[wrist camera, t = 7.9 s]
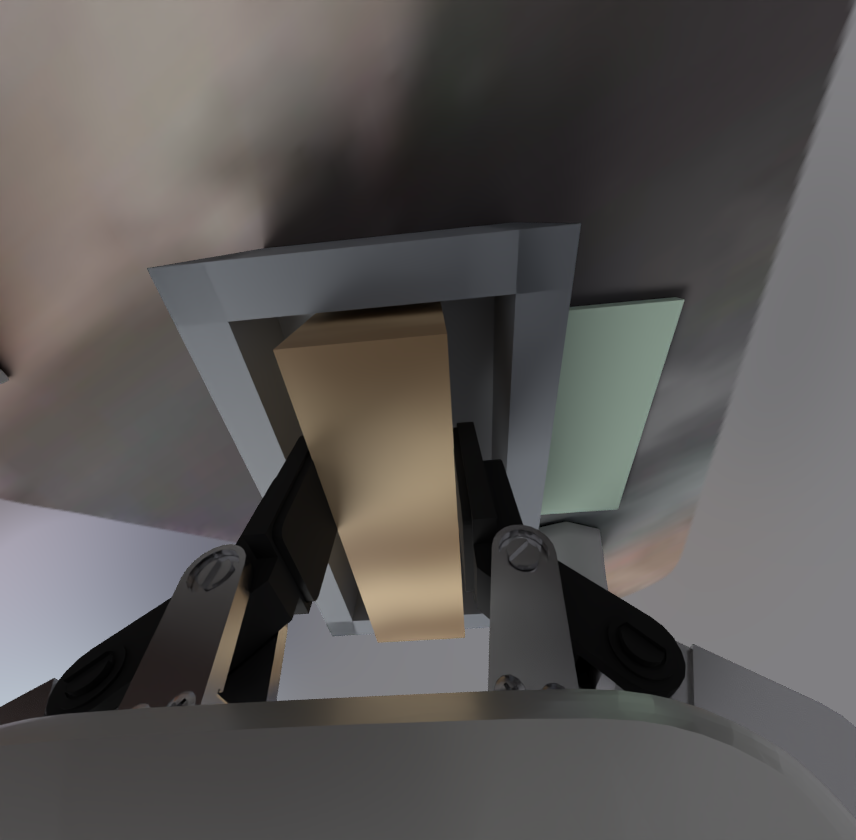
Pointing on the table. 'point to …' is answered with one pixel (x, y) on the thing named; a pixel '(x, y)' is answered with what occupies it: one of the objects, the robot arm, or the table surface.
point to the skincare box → (3, 377)
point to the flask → (579, 549)
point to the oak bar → (385, 457)
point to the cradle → (379, 287)
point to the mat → (605, 399)
